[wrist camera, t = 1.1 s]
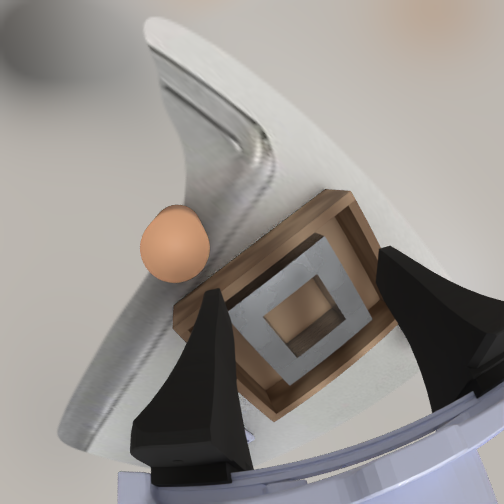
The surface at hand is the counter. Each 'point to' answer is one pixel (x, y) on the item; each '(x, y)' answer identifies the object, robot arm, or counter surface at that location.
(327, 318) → the socket plate
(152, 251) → the peg
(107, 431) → the counter surface
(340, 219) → the socket box
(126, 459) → the counter surface
